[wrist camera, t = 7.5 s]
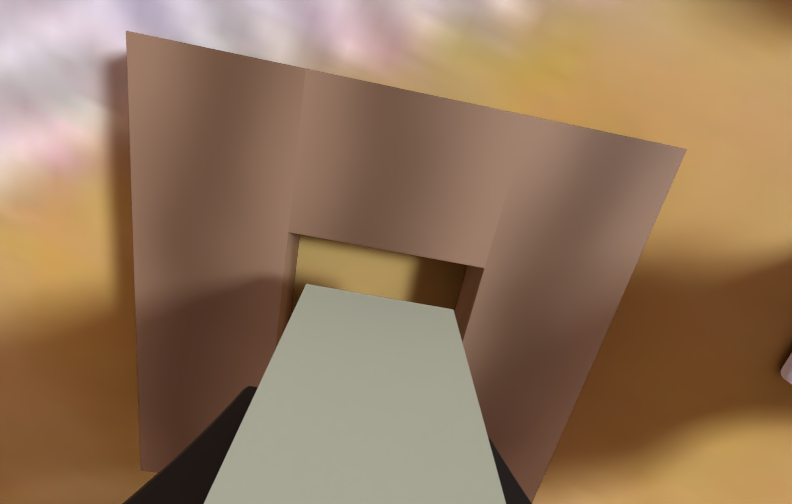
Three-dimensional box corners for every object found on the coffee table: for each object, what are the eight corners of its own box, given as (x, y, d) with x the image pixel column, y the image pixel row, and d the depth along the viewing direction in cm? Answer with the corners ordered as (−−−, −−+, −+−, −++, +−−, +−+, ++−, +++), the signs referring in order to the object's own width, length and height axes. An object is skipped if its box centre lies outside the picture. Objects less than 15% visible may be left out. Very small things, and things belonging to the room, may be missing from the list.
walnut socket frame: (645, 141, 13) (686, 149, 11) (510, 480, 19) (522, 523, 17) (167, 40, 12) (126, 30, 10) (167, 429, 17) (140, 470, 16)
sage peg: (453, 309, 11) (570, 739, 4) (421, 423, 13) (461, 901, 5) (306, 283, 11) (115, 693, 3) (290, 403, 12) (129, 877, 5)
